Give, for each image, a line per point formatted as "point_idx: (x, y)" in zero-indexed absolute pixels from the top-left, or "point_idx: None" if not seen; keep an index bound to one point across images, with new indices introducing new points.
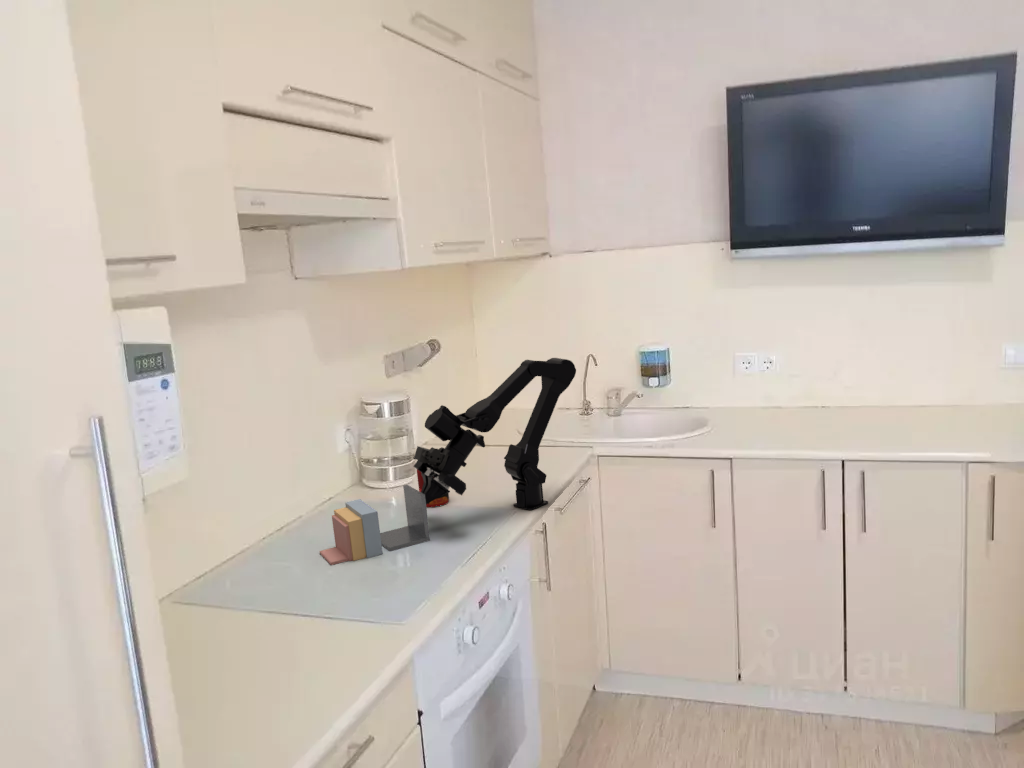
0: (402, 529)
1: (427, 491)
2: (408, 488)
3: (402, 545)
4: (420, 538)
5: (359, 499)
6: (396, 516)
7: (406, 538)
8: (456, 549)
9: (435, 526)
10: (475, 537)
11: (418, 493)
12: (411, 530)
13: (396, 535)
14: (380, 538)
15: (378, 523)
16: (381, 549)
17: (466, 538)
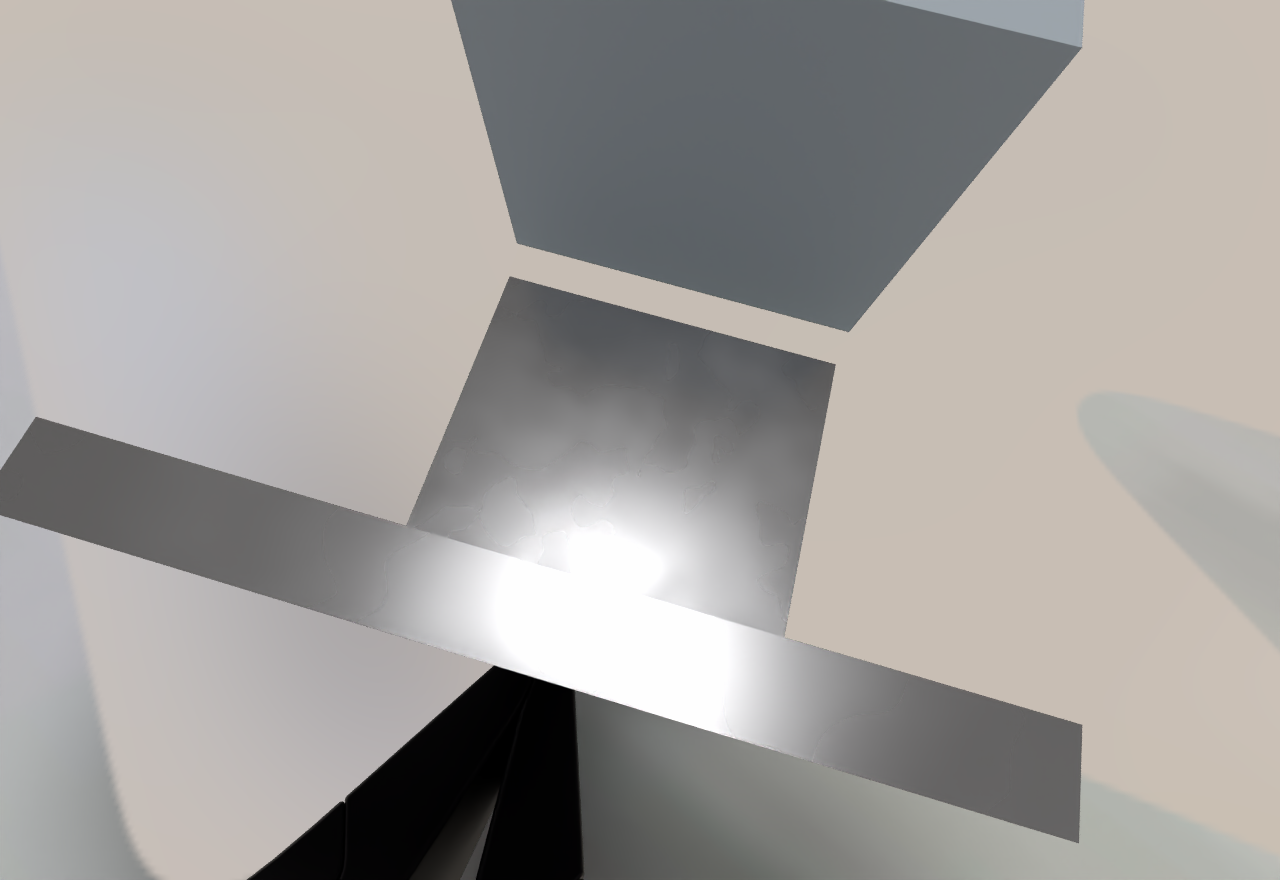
0: (744, 565)
1: (280, 858)
2: (742, 626)
3: (476, 365)
4: (435, 510)
5: (1066, 34)
6: (1173, 823)
7: (540, 450)
8: (51, 562)
9: (616, 855)
10: (34, 872)
11: (195, 483)
12: (654, 593)
13: (668, 451)
14: (494, 159)
15: (463, 39)
16: (511, 218)
17: (110, 797)
